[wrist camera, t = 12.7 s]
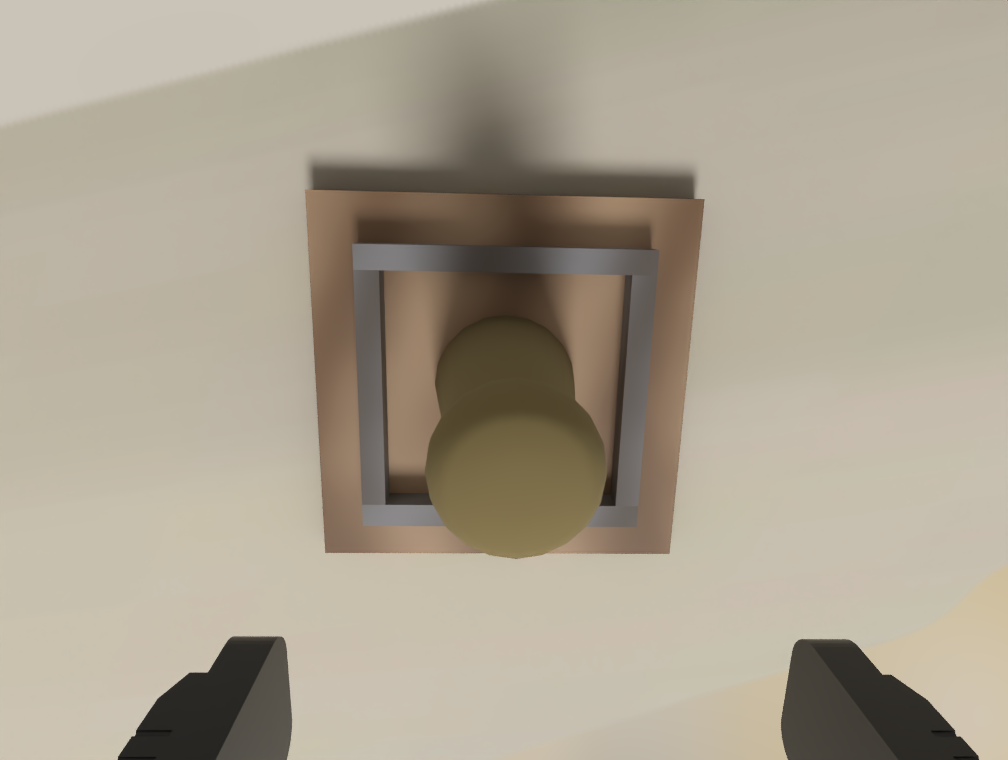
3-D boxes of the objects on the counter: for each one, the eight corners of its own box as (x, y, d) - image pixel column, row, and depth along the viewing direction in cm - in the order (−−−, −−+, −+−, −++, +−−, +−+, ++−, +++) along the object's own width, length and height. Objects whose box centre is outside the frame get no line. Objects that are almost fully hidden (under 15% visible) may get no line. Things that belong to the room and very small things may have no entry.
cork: (417, 427, 27) (375, 560, 17) (459, 295, 26) (442, 350, 15) (547, 466, 28) (586, 619, 17) (594, 340, 27) (669, 422, 16)
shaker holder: (694, 200, 26) (714, 198, 24) (662, 540, 30) (677, 567, 28) (313, 190, 26) (296, 188, 24) (331, 539, 30) (318, 566, 28)
